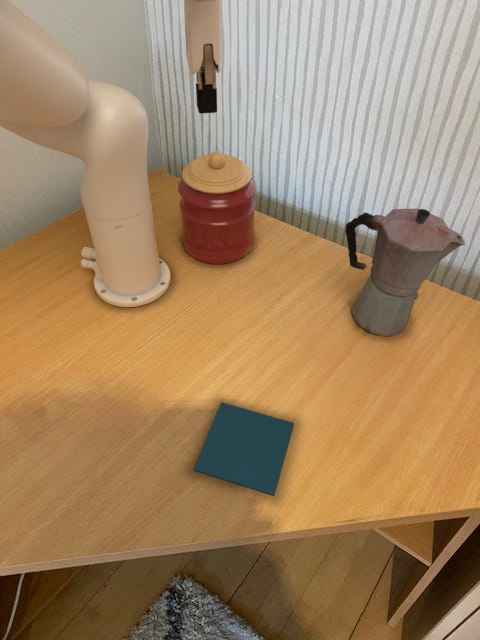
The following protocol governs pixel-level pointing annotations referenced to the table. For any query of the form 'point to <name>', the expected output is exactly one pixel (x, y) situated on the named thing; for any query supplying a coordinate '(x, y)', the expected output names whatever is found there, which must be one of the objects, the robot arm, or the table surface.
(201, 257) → the kitchen canister
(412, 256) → the moka pot
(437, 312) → the table surface
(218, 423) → the cloth
